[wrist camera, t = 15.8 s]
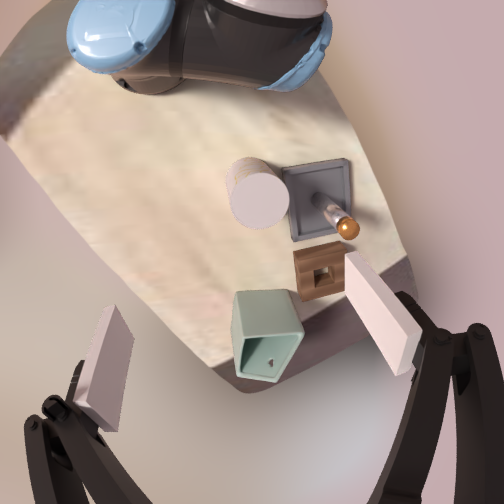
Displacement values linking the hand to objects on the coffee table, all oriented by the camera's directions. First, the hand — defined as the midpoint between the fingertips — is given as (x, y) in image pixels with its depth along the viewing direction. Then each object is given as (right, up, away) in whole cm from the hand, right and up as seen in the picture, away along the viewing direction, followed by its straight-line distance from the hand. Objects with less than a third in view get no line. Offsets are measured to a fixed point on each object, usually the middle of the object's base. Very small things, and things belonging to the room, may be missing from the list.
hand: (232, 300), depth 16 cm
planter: (0, -8, +47) cm, 48 cm away
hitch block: (+15, 0, +45) cm, 47 cm away
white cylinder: (+1, +15, +34) cm, 37 cm away
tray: (+13, +13, +37) cm, 42 cm away
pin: (+13, +12, +37) cm, 41 cm away
